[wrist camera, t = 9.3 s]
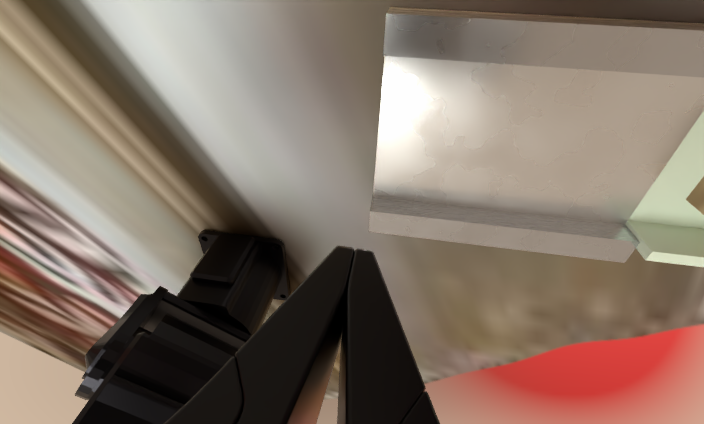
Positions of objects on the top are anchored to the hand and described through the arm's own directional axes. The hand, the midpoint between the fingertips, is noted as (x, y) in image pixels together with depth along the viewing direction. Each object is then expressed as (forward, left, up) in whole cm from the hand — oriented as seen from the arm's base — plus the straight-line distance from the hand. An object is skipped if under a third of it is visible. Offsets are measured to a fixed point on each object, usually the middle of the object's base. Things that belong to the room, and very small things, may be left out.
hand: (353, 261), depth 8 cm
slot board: (-1, -7, -12) cm, 14 cm away
